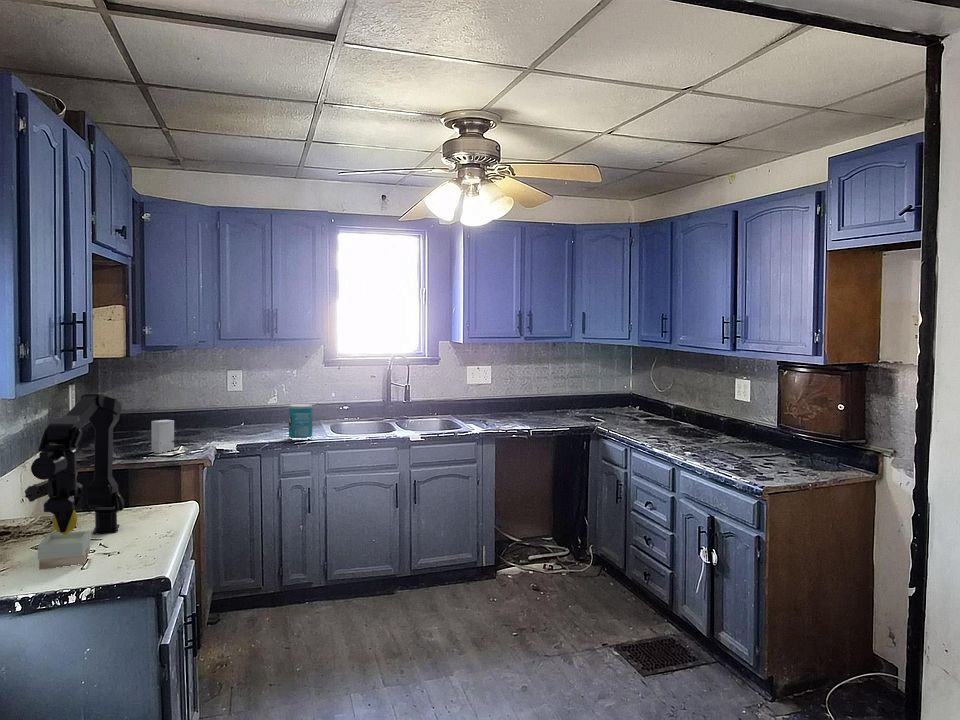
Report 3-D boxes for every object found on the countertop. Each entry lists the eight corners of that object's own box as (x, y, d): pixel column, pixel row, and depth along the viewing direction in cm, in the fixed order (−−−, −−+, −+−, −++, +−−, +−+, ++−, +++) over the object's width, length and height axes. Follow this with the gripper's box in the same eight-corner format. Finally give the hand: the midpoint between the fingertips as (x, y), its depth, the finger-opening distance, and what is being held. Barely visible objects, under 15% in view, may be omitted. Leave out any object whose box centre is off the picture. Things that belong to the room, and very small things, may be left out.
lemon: (49, 535, 179) (48, 505, 178) (72, 530, 183) (71, 500, 182) (57, 539, 175) (57, 509, 175) (81, 534, 180) (80, 504, 179)
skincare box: (159, 454, 313) (158, 422, 312) (150, 452, 316) (150, 420, 315) (175, 451, 320) (174, 419, 319) (166, 449, 323) (166, 418, 322)
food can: (283, 439, 355) (283, 405, 353) (298, 436, 366) (298, 402, 364) (302, 441, 350) (302, 407, 349) (316, 438, 361) (317, 404, 360)
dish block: (48, 546, 182) (48, 533, 182) (90, 543, 186) (90, 530, 185) (38, 559, 173) (37, 546, 173) (82, 555, 176) (82, 542, 176)
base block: (47, 558, 182) (46, 547, 182) (89, 553, 186) (89, 543, 186) (39, 571, 173) (39, 559, 173) (84, 566, 177) (84, 555, 177)
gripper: (35, 464, 183) (36, 521, 184) (18, 481, 166) (20, 543, 167) (82, 462, 188) (83, 517, 189) (71, 477, 170) (72, 538, 172)
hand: (65, 528), depth 179 cm, fingers closed on lemon, 5 cm apart
